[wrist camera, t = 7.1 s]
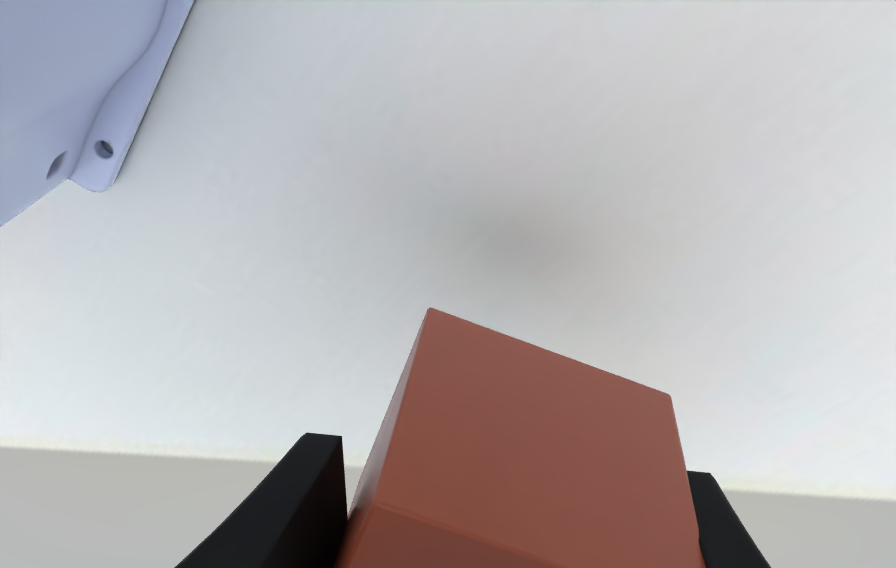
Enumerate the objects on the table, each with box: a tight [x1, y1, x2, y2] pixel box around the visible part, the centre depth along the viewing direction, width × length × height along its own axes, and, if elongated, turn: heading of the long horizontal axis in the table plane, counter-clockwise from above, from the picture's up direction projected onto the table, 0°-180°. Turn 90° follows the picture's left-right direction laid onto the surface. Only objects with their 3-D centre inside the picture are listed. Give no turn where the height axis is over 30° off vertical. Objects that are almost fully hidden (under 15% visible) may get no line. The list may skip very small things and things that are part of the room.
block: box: [333, 308, 706, 568], centre depth 12 cm, size 4×4×4 cm
